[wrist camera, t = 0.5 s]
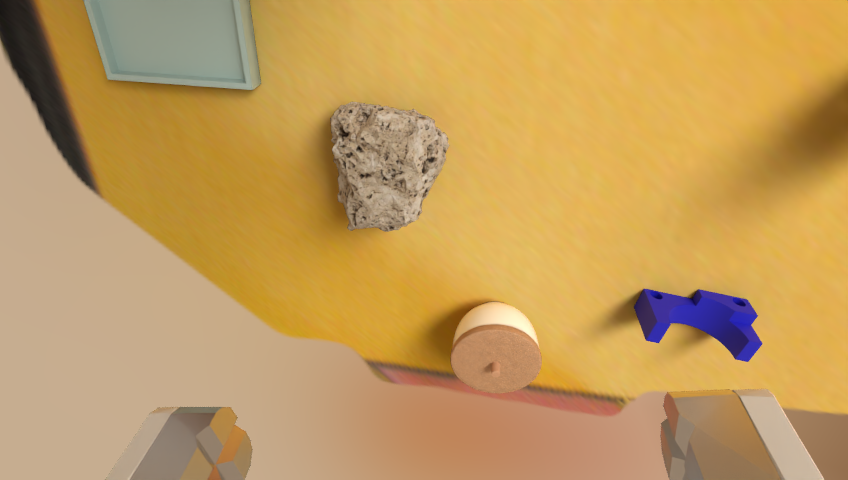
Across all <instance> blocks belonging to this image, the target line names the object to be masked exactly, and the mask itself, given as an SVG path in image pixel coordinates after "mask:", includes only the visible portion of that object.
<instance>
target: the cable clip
mask: <svg viewBox="0 0 848 480" xmlns="http://www.w3.org/2000/svg"><path fill="white" fill-rule="evenodd" d="M634 309H635V311H636V314H637V317H638V320H639V323H640V325H641V328H642V331H643V334H644V336H645V339H646V341H651V342H656V343H659V342H660V340H661V339H662V337H663V336H664V334H665V332H666V331H667V329H668V328H669V326H670V325H671V324H670V323H681V324H686V325H690V326H693V327H695V328H698V329H700V330H702V331H704V332H706V333H708V334H710V335H711V336H713V337H714V338H716V339H717V340H718V341H720V342H721V343H722V344H723V345H724V346H725V347H726V348H727V349H728V350H729V351H730V352H731V354H732V355H733V356H734V358H735V359H737V360H741V361H746V362H748V361H749V360H750V359H751V357H752V356H753V355H754V354H755V353H756V351H757V350H758V349H759V348H760V346H761V345H762V342H761V341H760V339H759V337H758V336H757V334H756V333H755V331H754V329H753V328H752V326H751V324H752V323H753V322H754V320H755V319H756V318H757V316H758V315H757V314H756V312H755V311H754V309H753V308H752V306H751V305H750V303H749V302H748V300H747V299H742V298H737V297H732V296H728V295H723V294H718V293H713V292H709V291H704V290H699V289H698V291H697V292H696V294H695V295H694V297H693V298H692V299H691V298H686V297H682V296H677V295H672V294H667V293H663V292H658V291H653V290H648V289H643V291H642V293H641V295H640V297H639V299H638V300H637V302H636V304H635V306H634Z"/></svg>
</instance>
